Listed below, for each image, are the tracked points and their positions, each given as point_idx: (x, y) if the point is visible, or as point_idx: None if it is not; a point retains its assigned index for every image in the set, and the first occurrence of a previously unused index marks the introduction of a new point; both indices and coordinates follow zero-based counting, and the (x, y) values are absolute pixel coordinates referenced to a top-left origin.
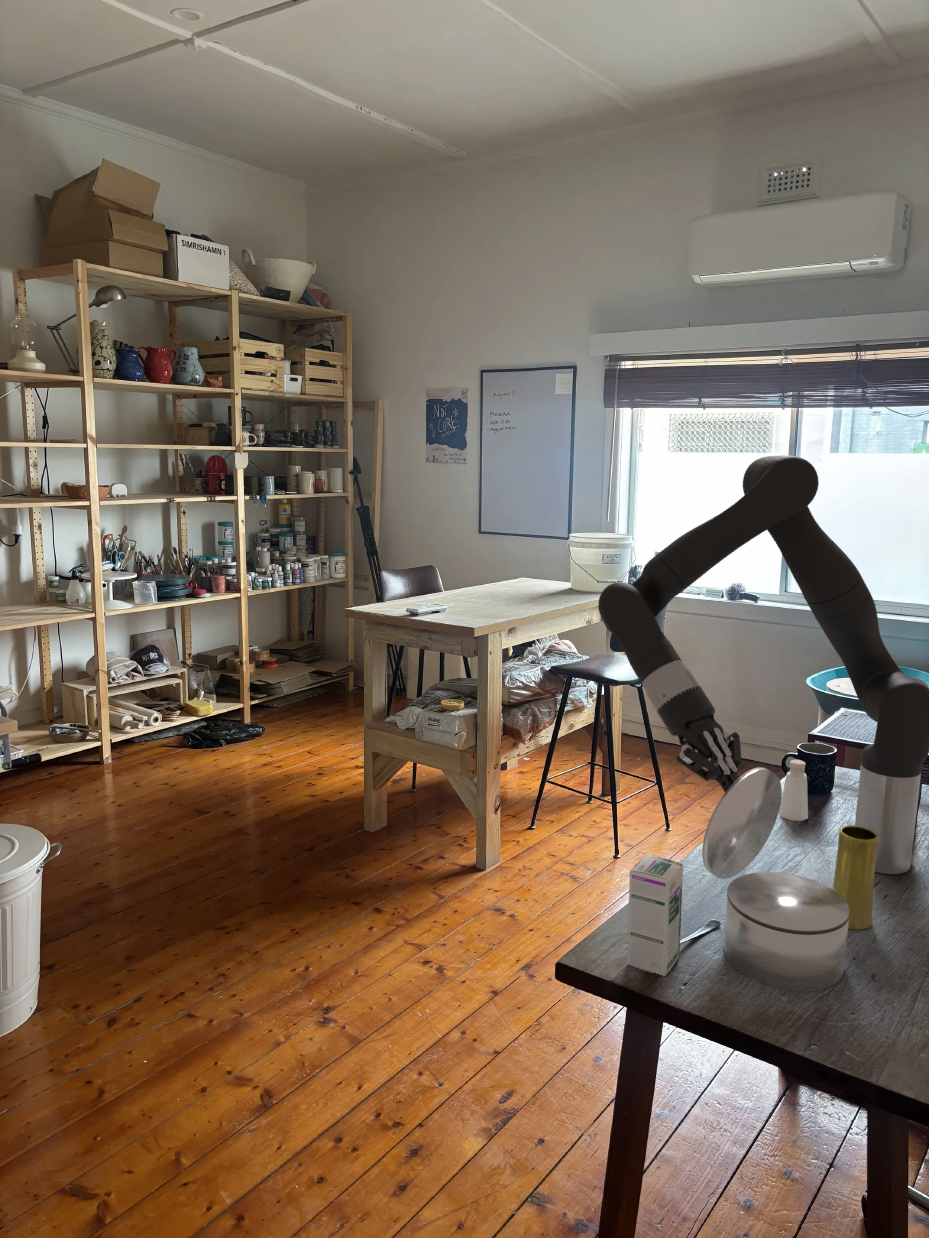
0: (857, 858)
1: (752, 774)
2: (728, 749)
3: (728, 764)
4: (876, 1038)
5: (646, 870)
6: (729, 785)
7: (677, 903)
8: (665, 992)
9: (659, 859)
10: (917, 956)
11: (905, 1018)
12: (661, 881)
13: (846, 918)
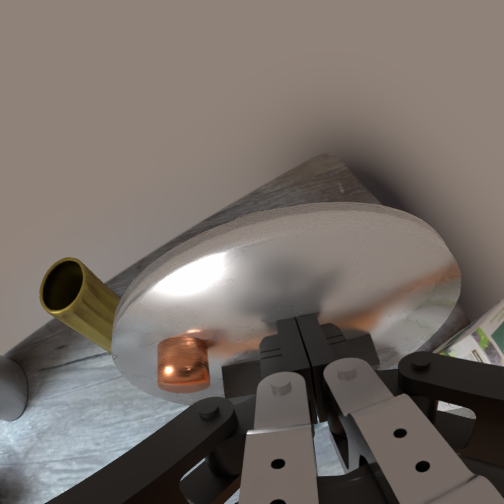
0: (101, 282)
1: (320, 208)
2: (252, 455)
3: (306, 401)
4: (303, 192)
5: None
6: (349, 346)
7: (457, 336)
8: (453, 321)
9: (501, 361)
10: (147, 256)
11: (254, 199)
12: None
13: (242, 216)
